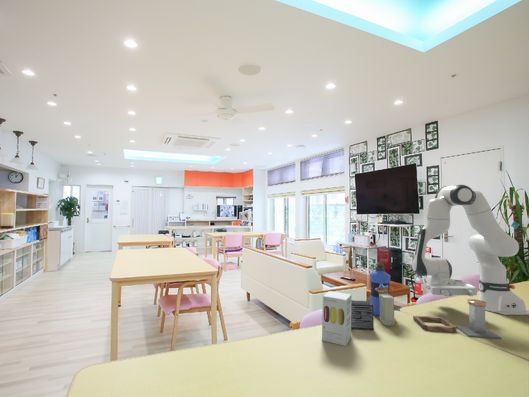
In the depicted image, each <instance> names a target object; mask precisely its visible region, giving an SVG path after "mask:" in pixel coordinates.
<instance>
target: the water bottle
mask: <svg viewBox="0 0 529 397" xmlns="http://www.w3.org/2000/svg"><path fill="white" fill-rule="evenodd" d="M369 281H370V294H369V301H370V302H371V303H372V304H373V317H378V318H380V299H379V294H389V295H390V284H391V274H389V273H387V272H386V270H385V264H384V263H383V262H382V261H379V262H376V263H375V271H372V272H370V273H369Z"/></svg>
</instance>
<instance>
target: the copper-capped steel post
mask: <svg viewBox="0 0 529 397" xmlns="http://www.w3.org/2000/svg"><path fill="white" fill-rule="evenodd" d="M467 304H468V319H469V320H468V321H469V322H468V323H469V324H468V325H469V329H470V330H472V331H473V332H475V333H485V334H486V329H485V328H486V310H485V307H486V306H487V304H486V302H484V301H481V300H479V299H473V298H469V299H467Z"/></svg>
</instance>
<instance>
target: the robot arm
mask: <svg viewBox="0 0 529 397" xmlns="http://www.w3.org/2000/svg"><path fill="white" fill-rule="evenodd" d="M435 194H436V195H435V196H434V198H431V199H430V200H429V201H428V203H427V207H426V218H425V219H426V220H425V224H424V226H423V227H421V228H420V230H419V232H418V236H417V239H416V240H417V241H416V245H415V252H414V256H413V259H412V263H411V269H412V272H413V273H415V274H416V276H419V277H426V278H425V280H426V283H427V285H426V286H425V288H426V290H428V291H429V293H430V294H431V295H435V296H444V297H451V296H469V297H474V296H477V295H478V294H479V295H478V300H481V301H484V302H486V304H487V306H486V307H485V311H487V312H492V313H496V314H500V315H506V316H508V315H509V316H512V315H513V316H514V315H515V316H528V315H529V309H527V308H526V306H527V305H526V303H525V301H524V300H523V298H521V297H520V296H518V295H517V294H516V293H514V291H512V290H515V289H516V286H515V285H514V284H509V283H507V268H506V266H505V265H504V264H503V263H502V262H501V261H500V258H508V257H514V256H515V255H517V254H518V253H519V250H520V245H519V242H518V240H516V239H515V238H513V236H512V237H511V235H509V234H508V233H507V232H506V231H505V230H504V229H503V228H502V226H501V225H500V224H499V223H498V221H497V219H496V217H495V215H494V213H493V211H492V209H491V205H490V203H489V202H488V200H487V199H486V197H485V196H484V194H483V193H482V192H481V191H480V190H479V191H478V190H473V189H472V188H471V187H469V186H468V185H466V184H449V185H444V186H443V187H440V188H439V189H438V190H437V191H436V193H435ZM453 206H461V207H462V208H463V209H464V212H465V214H466V217H467V219H468V222H469V225H470V226H471V228H472V229H473V230H474V231H476V232H477V233H478V234H473V235H471V236H470V237H469V240H468V245H469V247H470V249H471V250H472V251H473V252H474V254H475V257H476V259H477V262H478V266H479V280H478V288H479V290H478V289H477V287H476V286H475V285H472V284H470V283H467V282H466V281H465V280H460V279H454V278H453V279H452V275H453V267H452V264H451V263H450V261H449V260H448V259H446V258H445V257H437V256H436V257H435V256H433V257H425V256H426V252H427V250H426V249H427V246H428V243H429V241H430V240H432V239H434V238H437V237H440V236H443V235H444V234H446V233H447V232H448V230H450V227H451V209H452V208H453ZM499 257H500V258H499ZM511 289H512V290H511ZM478 291H479V293H478Z"/></svg>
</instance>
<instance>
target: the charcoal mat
mask: <svg viewBox="0 0 529 397" xmlns="http://www.w3.org/2000/svg"><path fill="white" fill-rule="evenodd" d="M455 327H456V329H458V330H459V331H460V332H461V333H463V334H465V335H466V336H467V337H470V338H485V339H496V340H497V339H498V340H502V337H501V336H500V335H498V334H497V333H496V332H493V331H492V330H491V329H488V328H487V327H485V329H486V334H485V333H475V332H473V331H472V330H470V329H469V326H467V325H466V326H464V325H455Z"/></svg>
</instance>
